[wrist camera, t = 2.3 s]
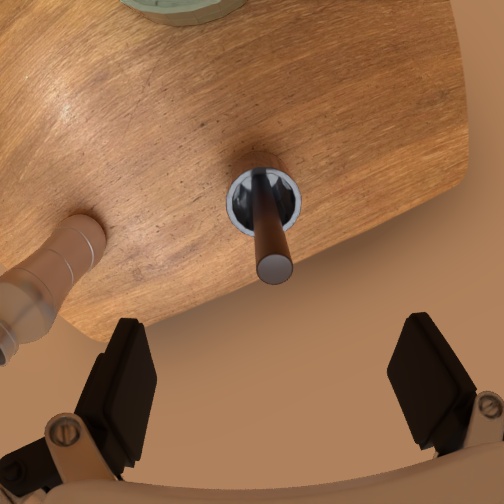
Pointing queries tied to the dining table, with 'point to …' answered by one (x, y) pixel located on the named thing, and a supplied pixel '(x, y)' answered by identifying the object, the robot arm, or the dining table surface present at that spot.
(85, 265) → the plastic bottle
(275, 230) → the stirring stick
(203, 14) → the bowl
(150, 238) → the dining table surface
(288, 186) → the utensil pot
